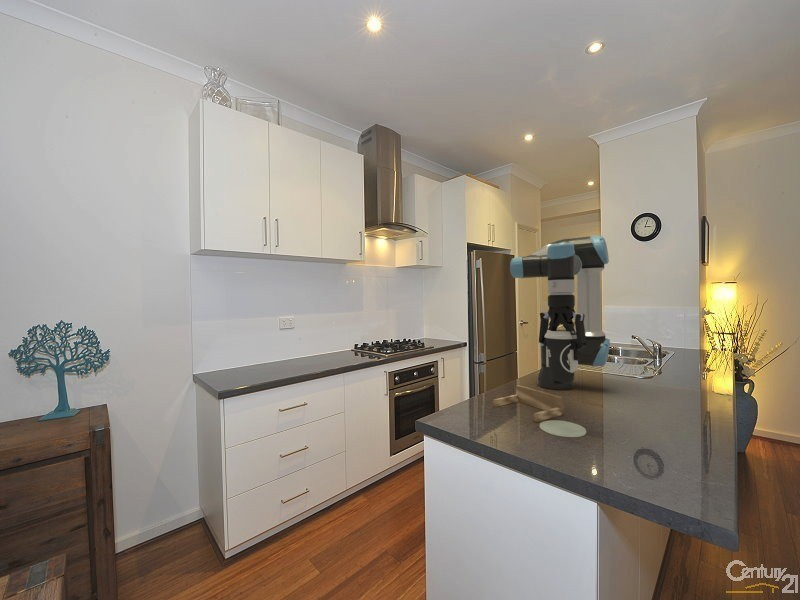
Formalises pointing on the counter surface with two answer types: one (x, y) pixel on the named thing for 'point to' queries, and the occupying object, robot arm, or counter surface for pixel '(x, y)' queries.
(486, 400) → the counter surface
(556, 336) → the coffee cup
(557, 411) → the shelf bay
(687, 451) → the counter surface
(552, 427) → the coaster
